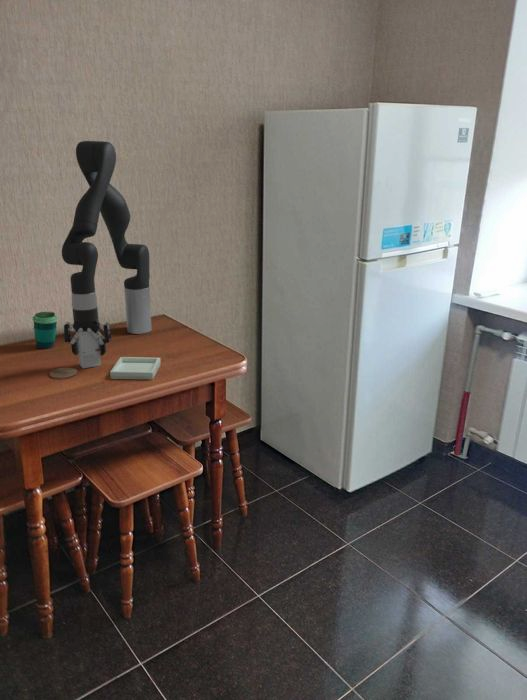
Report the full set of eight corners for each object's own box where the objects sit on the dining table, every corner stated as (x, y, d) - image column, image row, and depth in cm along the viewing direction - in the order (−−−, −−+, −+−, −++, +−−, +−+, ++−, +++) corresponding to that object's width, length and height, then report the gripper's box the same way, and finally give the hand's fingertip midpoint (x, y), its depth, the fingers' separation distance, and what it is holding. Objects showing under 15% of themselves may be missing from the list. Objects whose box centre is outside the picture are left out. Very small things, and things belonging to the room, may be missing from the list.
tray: (121, 363, 186) (120, 357, 186) (160, 363, 186) (160, 357, 186) (110, 378, 174) (110, 371, 173) (152, 379, 174) (152, 372, 173)
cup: (46, 341, 206) (42, 309, 201) (65, 344, 203) (61, 312, 199) (31, 348, 198) (26, 315, 194) (50, 351, 196) (46, 318, 192)
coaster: (55, 369, 181) (55, 367, 181) (80, 369, 181) (80, 367, 181) (46, 378, 173) (45, 376, 173) (72, 379, 173) (72, 377, 173)
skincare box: (83, 369, 181) (79, 333, 177) (78, 364, 185) (75, 329, 181) (102, 365, 184) (98, 330, 180) (97, 361, 188) (94, 326, 184)
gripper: (110, 303, 181) (114, 350, 187) (66, 302, 181) (71, 350, 187) (104, 309, 174) (108, 358, 180) (57, 308, 174) (63, 358, 180)
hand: (89, 354), depth 183 cm, fingers open, 8 cm apart
